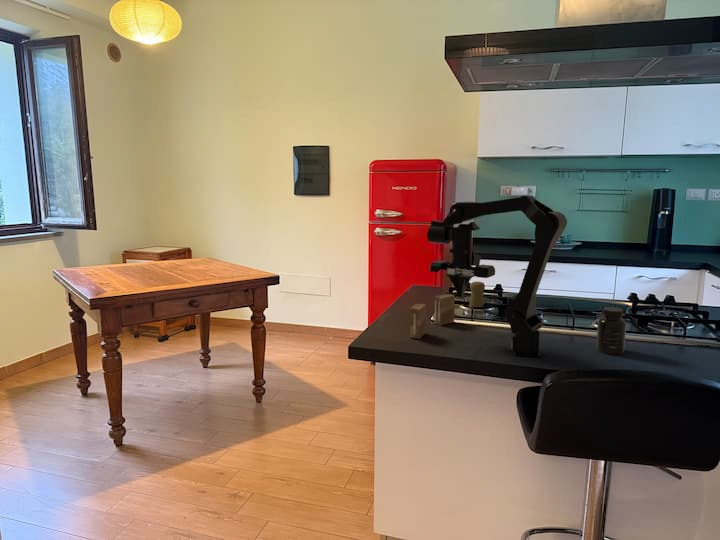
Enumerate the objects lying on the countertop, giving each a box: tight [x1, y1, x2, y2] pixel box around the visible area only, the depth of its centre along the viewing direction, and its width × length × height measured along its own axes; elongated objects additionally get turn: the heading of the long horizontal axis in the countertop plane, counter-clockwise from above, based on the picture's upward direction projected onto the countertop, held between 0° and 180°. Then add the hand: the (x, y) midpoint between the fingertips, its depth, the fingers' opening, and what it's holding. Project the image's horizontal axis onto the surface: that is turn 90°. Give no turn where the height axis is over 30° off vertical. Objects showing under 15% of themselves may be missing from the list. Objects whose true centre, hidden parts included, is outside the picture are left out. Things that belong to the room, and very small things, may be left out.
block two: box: [433, 293, 456, 326], centre depth 155 cm, size 3×6×9 cm, turn 126°
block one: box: [409, 303, 427, 340], centre depth 142 cm, size 3×6×9 cm, turn 156°
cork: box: [468, 281, 486, 308], centre depth 172 cm, size 6×6×11 cm
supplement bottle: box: [596, 306, 627, 356], centre depth 130 cm, size 7×7×12 cm
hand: (460, 297), depth 141 cm, fingers closed
